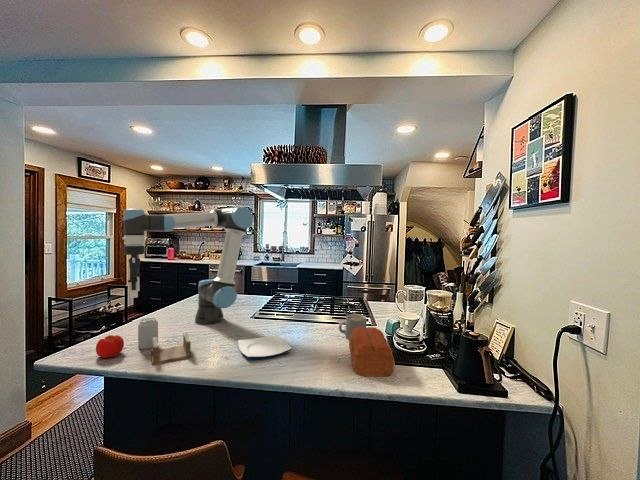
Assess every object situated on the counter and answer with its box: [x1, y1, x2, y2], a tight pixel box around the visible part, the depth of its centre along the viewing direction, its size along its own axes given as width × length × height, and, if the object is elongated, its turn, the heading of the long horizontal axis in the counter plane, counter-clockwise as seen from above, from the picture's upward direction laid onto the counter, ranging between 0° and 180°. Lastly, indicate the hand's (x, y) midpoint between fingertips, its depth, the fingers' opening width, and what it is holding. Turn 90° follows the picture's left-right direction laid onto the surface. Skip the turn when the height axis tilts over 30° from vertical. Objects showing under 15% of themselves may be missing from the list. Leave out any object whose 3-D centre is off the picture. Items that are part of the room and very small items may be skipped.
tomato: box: [95, 334, 125, 359], centre depth 119 cm, size 9×9×8 cm
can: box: [137, 317, 159, 351], centre depth 128 cm, size 8×8×12 cm
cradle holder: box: [150, 332, 193, 366], centre depth 120 cm, size 14×12×7 cm
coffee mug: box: [338, 313, 367, 341], centre depth 144 cm, size 13×10×10 cm
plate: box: [237, 333, 293, 360], centre depth 128 cm, size 20×20×3 cm
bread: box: [348, 326, 395, 378], centre depth 119 cm, size 16×27×11 cm, turn 178°
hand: (135, 294), depth 128 cm, fingers open, 13 cm apart
